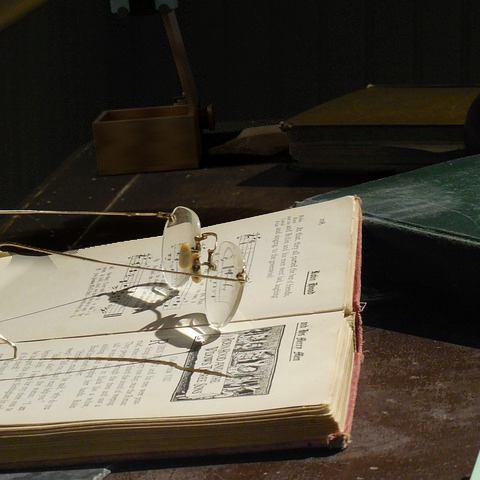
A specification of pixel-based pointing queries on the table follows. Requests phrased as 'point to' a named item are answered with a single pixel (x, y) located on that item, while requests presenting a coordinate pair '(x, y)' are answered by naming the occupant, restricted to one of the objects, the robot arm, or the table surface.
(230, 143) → the stone
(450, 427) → the table surface
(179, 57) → the lid
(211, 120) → the camera
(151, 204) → the table surface
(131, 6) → the robot arm
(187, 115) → the chest
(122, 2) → the car
